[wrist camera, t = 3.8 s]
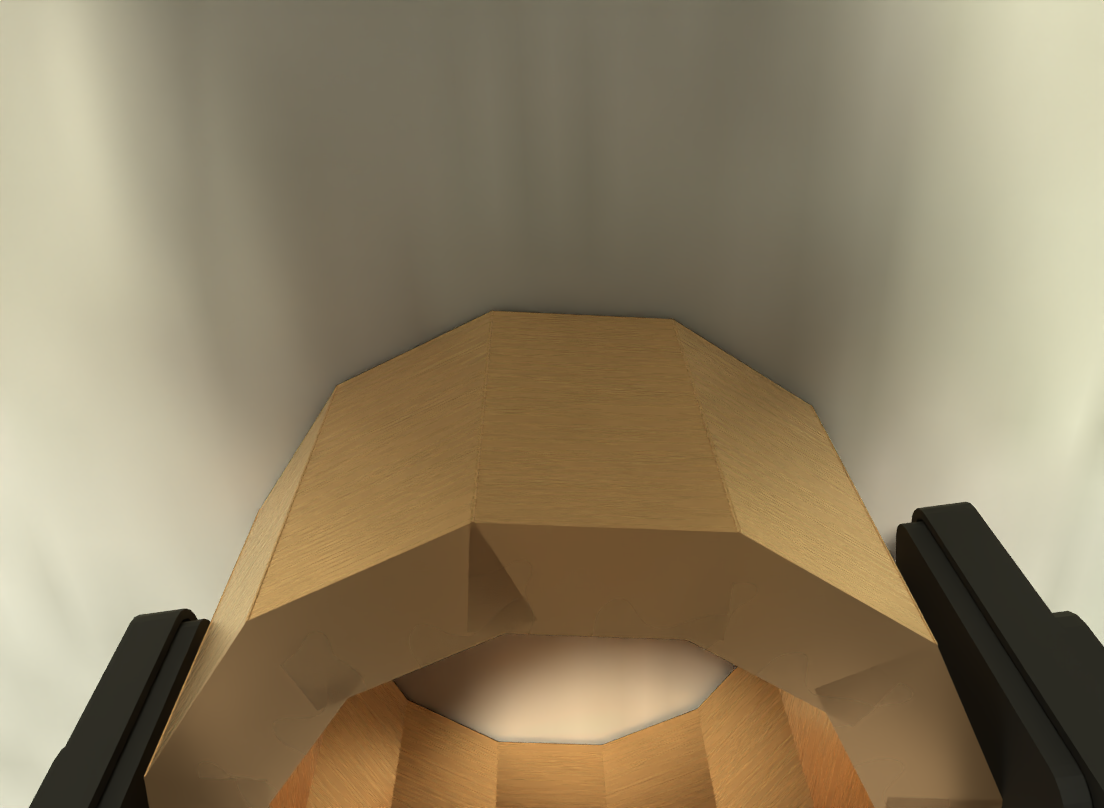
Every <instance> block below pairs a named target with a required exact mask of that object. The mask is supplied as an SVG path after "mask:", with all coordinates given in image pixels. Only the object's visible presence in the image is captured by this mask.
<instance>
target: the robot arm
mask: <svg viewBox="0 0 1104 808" xmlns="http://www.w3.org/2000/svg"><path fill="white" fill-rule="evenodd" d="M896 566H897V568H898V570H899V572H900V573H901V575H902V577H903V579H904V581H905V583H906V585H907V587H908V589H909V591H910V592H911V594H912V596H913V598H914V600H915V602H916V604H917V606H918V608H919V610H920V611H921V613H922V615H923V617H924V619H925V621H926V623H927V625H928V627H929V629H930V630H931V632H932V634H933V636H934V638H935V640H936V642H937V644H938V649H939V651H940V653H941V656H942V658H943V660H944V663H945V665H946V667H947V670H948V672H949V674H950V677H951V679H952V681H953V684H954V686H955V689H956V691H957V693H958V696H959V698H960V700H961V703H962V705H963V707H964V710H965V712H966V714H967V717H968V719H969V722H970V724H971V726H972V729H973V731H974V733H975V736H976V738H977V740H978V743H979V745H980V747H981V750H982V752H983V754H984V757H985V759H986V762H987V764H988V766H989V769H990V771H991V773H992V776H993V778H994V780H995V783H996V785H997V787H998V790H999V792H1000V794H1001V797H1002V799H1003V800H1002V807H1001V808H1104V647H1103V645H1102V644H1101V643H1100V641H1099V640H1098V639H1097V637H1096V636H1095V635H1094V634H1093V632H1092V631H1091V630H1090V628H1089V627H1088V626H1087V624H1086V623H1085V622H1084V621H1083V620H1082V619H1081V618H1080V617H1079V616H1078V615H1076V614H1074V613H1072V612H1069V611H1064V612H1056V613H1052V612H1051V611H1050V610H1049V608H1048V607H1047V606H1046V604H1045V603H1044V601H1043V600H1042V599H1041V597H1040V596H1039V595H1038V593H1037V592H1036V591H1035V589H1034V588H1033V586H1032V585H1031V584H1030V582H1029V581H1028V580H1027V578H1026V577H1025V576H1024V574H1023V573H1022V571H1021V570H1020V569H1019V567H1018V566H1017V565H1016V563H1015V562H1014V561H1013V559H1012V558H1011V556H1010V555H1009V554H1008V552H1007V551H1006V550H1005V548H1004V547H1003V546H1002V544H1001V543H1000V541H999V540H998V539H997V537H996V536H995V535H994V533H993V532H992V530H991V529H990V528H989V526H988V525H987V524H986V522H985V521H984V520H983V518H982V517H981V515H980V514H979V513H978V511H977V510H976V509H975V507H974V506H973V505H972V504H971V503H968V502H961V503H954V504H946V505H939V506H932V507H924V508H917V509H916V510H915V511H914V513H913V515H912V523H905V524H900V525H899V526H898V528H897V533H896ZM209 625H210V621H209V620H207V619H201V620H197V618H196V616H195V614H194V613H193V612H192V611H191V610H189V609H179V610H172V611H164V612H157V613H150V614H142V615H138V616H136V617H134V619H133V620H132V621H131V623H130V624H129V626H128V628H127V630H126V632H125V634H124V636H123V638H122V640H121V642H120V643H119V645H118V647H117V649H116V651H115V653H114V655H113V657H112V659H111V661H110V662H109V664H108V666H107V668H106V670H105V672H104V674H103V676H102V678H101V680H100V681H99V683H98V685H97V687H96V689H95V691H94V693H93V695H92V697H91V699H90V700H89V702H88V704H87V706H86V708H85V710H84V712H83V714H82V716H81V718H80V719H79V721H78V723H77V725H76V727H75V729H74V731H73V733H72V735H71V737H70V738H69V740H68V742H67V744H66V746H65V747H64V748H63V749H62V750H61V751H60V753H59V754H58V756H57V757H56V758H55V760H54V761H53V763H52V765H51V767H50V769H49V771H48V773H47V775H46V776H45V778H44V780H43V782H42V784H41V786H40V788H39V790H38V792H37V793H36V795H35V797H34V799H33V801H32V803H31V805H30V807H29V808H149V803H148V798H147V792H146V786H145V780H144V775H145V773H146V771H147V768H148V766H149V764H150V761H151V759H152V757H153V754H154V752H155V750H156V747H157V745H158V743H159V740H160V738H161V736H162V734H163V731H164V729H165V727H166V724H167V722H168V720H169V717H170V715H171V713H172V710H173V708H174V706H175V703H176V701H177V699H178V696H179V694H180V692H181V690H182V687H183V685H184V683H185V680H186V678H187V676H188V673H189V671H190V669H191V666H192V664H193V662H194V659H195V657H196V655H197V652H198V650H199V648H200V646H201V643H202V641H203V639H204V636H205V634H206V632H207V629H208V627H209Z"/></svg>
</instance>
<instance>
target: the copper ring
mask: <svg viewBox="0 0 1104 808" xmlns="http://www.w3.org/2000/svg"><path fill="white" fill-rule="evenodd" d="M502 634H533V635H563V636H593V637H622V638H652V639H682V640H688V641H690V642H692V643H694V644H696V645H698V646H700V647H702V648H704V649H706V650H707V651H709V652H711V653H713V654H715V655H717V656H719V657H721V658H723V659H725V660H727V661H728V662H730V663H732V664H734V665H736V666H738V667H737V668H736V669H735V670H734V671H733V672H732V673H731V674H730V675H729V676H728V677H727V678H726V679H725V680H724V681H723V682H722V683H721V685H720V686H719V687H718V688H717V689H716V690H715V691H714V692H713V693H712V694H711V695H710V696H709V697H708V698H707V699H706V700H705V701H704V702H703V704H702V705H701V706H700V707H699V708H698V709H696V710H693V711H691V712H688V713H685V714H683V715H680V716H677V717H675V718H672V719H669V720H667V721H664V722H662V723H659V724H656V725H654V726H651V727H648V728H646V729H643V730H641V731H638V732H635V733H633V734H630V735H627V736H625V737H622V738H619V739H617V740H614V741H612V742H609V743H606V744H604V745H581V744H547V743H513V742H497V741H495V740H493V739H491V738H488V737H486V736H484V735H482V734H480V733H478V732H475V731H473V730H471V729H469V728H467V727H465V726H463V725H460V724H458V723H456V722H454V721H452V720H450V719H447V718H445V717H443V716H441V715H439V714H437V713H434V712H432V711H430V710H428V709H426V708H424V707H422V706H419V705H417V704H415V703H413V702H411V701H409V700H407V699H406V697H405V696H404V695H403V693H402V692H401V691H400V690H399V688H398V687H397V686H396V684H395V683H394V682H393V679H395V678H398V677H400V676H403V675H405V674H408V673H410V672H412V671H415V670H417V669H420V668H422V667H425V666H427V665H429V664H432V663H434V662H437V661H439V660H442V659H444V658H446V657H449V656H451V655H454V654H456V653H459V652H461V651H463V650H466V649H468V648H471V647H473V646H476V645H478V644H481V643H483V642H485V641H488V640H490V639H493V638H495V637H498V636H500V635H502ZM144 780H145V786H146V792H147V798H148V803H149V808H1001V807H1002V800H1003V799H1002V797H1001V794H1000V792H999V790H998V787H997V785H996V783H995V780H994V778H993V776H992V773H991V771H990V769H989V766H988V764H987V762H986V759H985V757H984V754H983V752H982V750H981V747H980V745H979V743H978V740H977V738H976V736H975V733H974V731H973V729H972V726H971V724H970V722H969V719H968V717H967V714H966V712H965V710H964V707H963V705H962V703H961V700H960V698H959V696H958V693H957V691H956V689H955V686H954V684H953V681H952V679H951V677H950V674H949V672H948V670H947V667H946V665H945V663H944V660H943V658H942V656H941V653H940V651H939V649H938V644H937V642H936V640H935V638H934V636H933V634H932V632H931V630H930V629H929V627H928V625H927V623H926V621H925V619H924V617H923V615H922V613H921V611H920V610H919V608H918V606H917V604H916V602H915V600H914V598H913V596H912V594H911V592H910V591H909V589H908V587H907V585H906V583H905V581H904V579H903V577H902V575H901V573H900V572H899V570H898V568H897V566H896V564H895V562H894V560H893V558H892V556H891V554H890V553H889V551H888V549H887V547H886V545H885V543H884V541H883V539H882V537H881V535H880V534H879V532H878V530H877V528H876V526H875V524H874V522H873V520H872V518H871V516H870V515H869V513H868V511H867V509H866V507H865V505H864V503H863V501H862V499H861V497H860V495H859V494H858V492H857V490H856V488H855V486H854V484H853V482H852V480H851V478H850V476H849V475H848V473H847V471H846V469H845V467H844V465H843V463H842V461H841V459H840V457H839V456H838V454H837V452H836V450H835V448H834V446H833V444H832V442H831V440H830V438H829V437H828V435H827V433H826V431H825V429H824V427H823V425H822V423H821V421H820V419H819V418H818V416H817V414H816V412H815V410H814V408H813V406H812V405H809V404H808V403H806V402H805V401H803V400H801V399H800V398H798V397H797V396H795V395H793V394H792V393H790V392H789V391H787V390H785V389H784V388H782V387H781V386H779V385H777V384H776V383H774V382H773V381H771V380H769V379H768V378H766V377H765V376H763V375H761V374H760V373H758V372H757V371H755V370H753V369H752V368H750V367H749V366H747V365H745V364H744V363H742V362H741V361H739V360H737V359H736V358H734V357H733V356H731V355H729V354H728V353H726V352H725V351H723V350H721V349H720V348H718V347H717V346H715V345H713V344H712V343H710V342H709V341H707V340H705V339H704V338H702V337H701V336H699V335H697V334H696V333H694V332H693V331H691V330H689V329H688V328H686V327H684V326H683V325H681V324H680V323H678V322H676V321H675V320H674V319H672V318H671V319H659V318H637V317H616V316H594V315H573V314H551V313H529V312H508V311H494V310H493V311H490V312H489V313H486V314H484V315H482V316H480V317H478V318H476V319H474V320H472V321H470V322H468V323H466V324H464V325H462V326H459V327H457V328H455V329H453V330H451V331H449V332H447V333H445V334H443V335H441V336H439V337H437V338H435V339H432V340H430V341H428V342H426V343H424V344H422V345H420V346H418V347H416V348H414V349H412V350H410V351H408V352H405V353H403V354H401V355H399V356H397V357H395V358H393V359H391V360H389V361H387V362H385V363H383V364H381V365H378V366H376V367H374V368H372V369H370V370H368V371H366V372H364V373H362V374H360V375H358V376H356V377H354V378H351V379H349V380H347V381H345V382H343V383H341V384H339V385H337V386H336V387H335V390H334V391H333V393H332V394H331V396H330V398H329V399H328V401H327V402H326V404H325V406H324V407H323V409H322V410H321V412H320V414H319V415H318V417H317V418H316V420H315V422H314V423H313V425H312V427H311V428H310V430H309V431H308V433H307V435H306V436H305V438H304V439H303V441H302V443H301V444H300V446H299V447H298V449H297V451H296V452H295V454H294V455H293V457H292V459H291V460H290V462H289V463H288V465H287V467H286V468H285V470H284V472H283V473H282V475H281V476H280V478H279V480H278V481H277V483H276V484H275V486H274V488H273V489H272V491H271V492H270V494H269V496H268V497H267V499H266V500H265V502H264V504H263V505H262V507H261V508H260V509H259V511H258V513H257V516H256V518H255V520H254V523H253V525H252V527H251V530H250V532H249V534H248V537H247V539H246V541H245V544H244V546H243V548H242V551H241V553H240V555H239V557H238V560H237V562H236V564H235V567H234V569H233V571H232V574H231V576H230V578H229V581H228V583H227V585H226V588H225V590H224V592H223V595H222V597H221V599H220V602H219V604H218V606H217V608H216V611H215V613H214V615H213V618H212V620H211V622H210V625H209V627H208V629H207V632H206V634H205V636H204V639H203V641H202V643H201V646H200V648H199V650H198V652H197V655H196V657H195V659H194V662H193V664H192V666H191V669H190V671H189V673H188V676H187V678H186V680H185V683H184V685H183V687H182V690H181V692H180V694H179V696H178V699H177V701H176V703H175V706H174V708H173V710H172V713H171V715H170V717H169V720H168V722H167V724H166V727H165V729H164V731H163V734H162V736H161V738H160V740H159V743H158V745H157V747H156V750H155V752H154V754H153V757H152V759H151V761H150V764H149V766H148V768H147V771H146V773H145V775H144Z"/></svg>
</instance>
